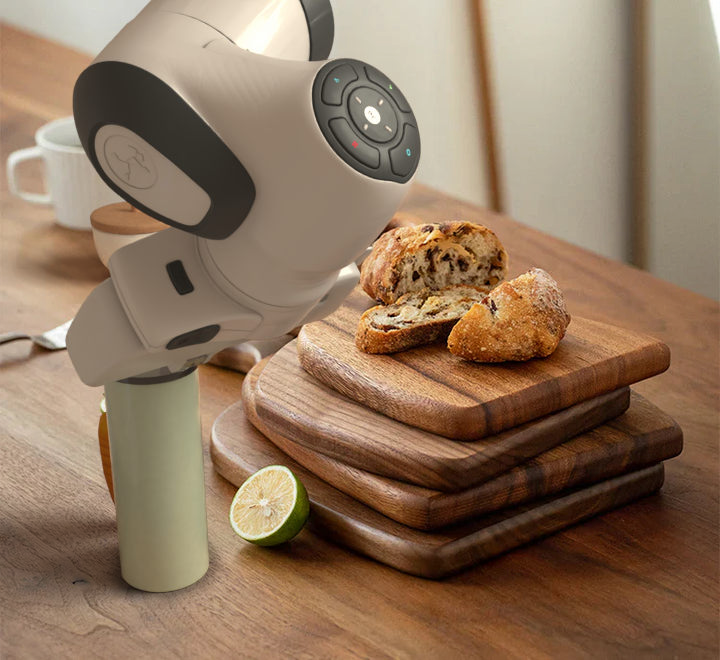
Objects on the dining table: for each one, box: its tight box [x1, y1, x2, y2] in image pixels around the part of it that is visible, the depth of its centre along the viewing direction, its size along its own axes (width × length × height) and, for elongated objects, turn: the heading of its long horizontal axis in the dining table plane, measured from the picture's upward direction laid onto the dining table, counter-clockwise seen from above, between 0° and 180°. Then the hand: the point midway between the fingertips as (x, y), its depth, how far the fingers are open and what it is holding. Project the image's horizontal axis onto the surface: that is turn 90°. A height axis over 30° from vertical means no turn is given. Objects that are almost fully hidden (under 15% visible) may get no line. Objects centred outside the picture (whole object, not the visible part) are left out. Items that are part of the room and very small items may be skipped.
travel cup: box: [103, 365, 210, 593], centre depth 85 cm, size 8×8×19 cm
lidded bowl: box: [89, 201, 171, 270], centre depth 153 cm, size 13×13×11 cm
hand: (183, 358), depth 78 cm, fingers closed
